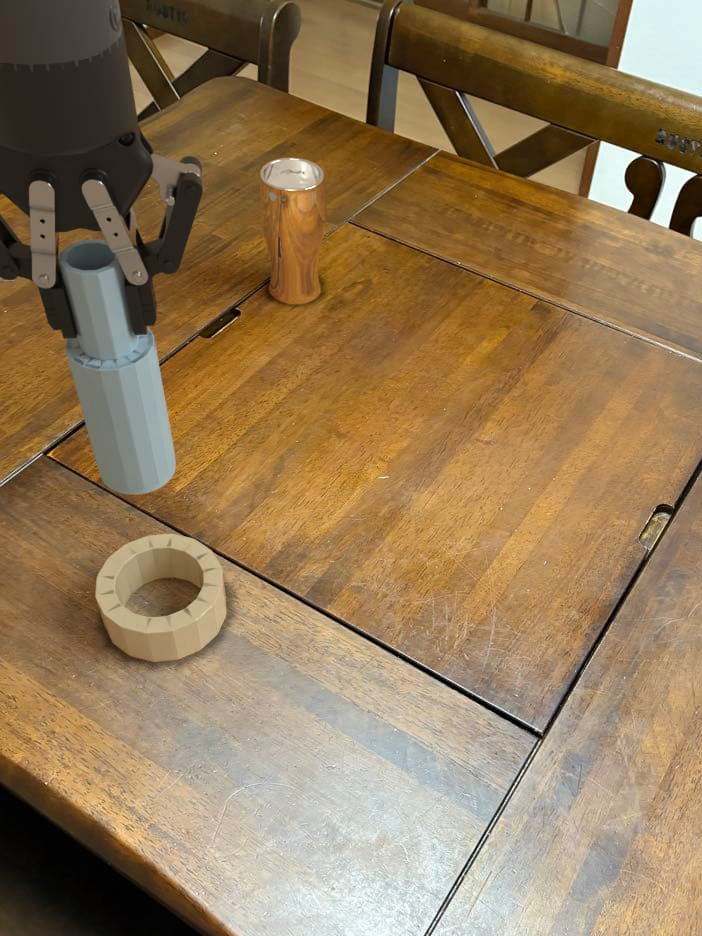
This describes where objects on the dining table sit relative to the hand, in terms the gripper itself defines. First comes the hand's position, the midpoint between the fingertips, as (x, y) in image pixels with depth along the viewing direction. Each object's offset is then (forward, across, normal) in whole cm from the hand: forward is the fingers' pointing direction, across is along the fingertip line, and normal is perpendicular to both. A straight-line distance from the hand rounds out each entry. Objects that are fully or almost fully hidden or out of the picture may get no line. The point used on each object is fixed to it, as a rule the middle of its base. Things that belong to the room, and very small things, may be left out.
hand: (106, 327), depth 55 cm
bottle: (+12, 0, 0) cm, 12 cm away
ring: (+29, 0, +1) cm, 29 cm away
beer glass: (+29, -14, -43) cm, 54 cm away
